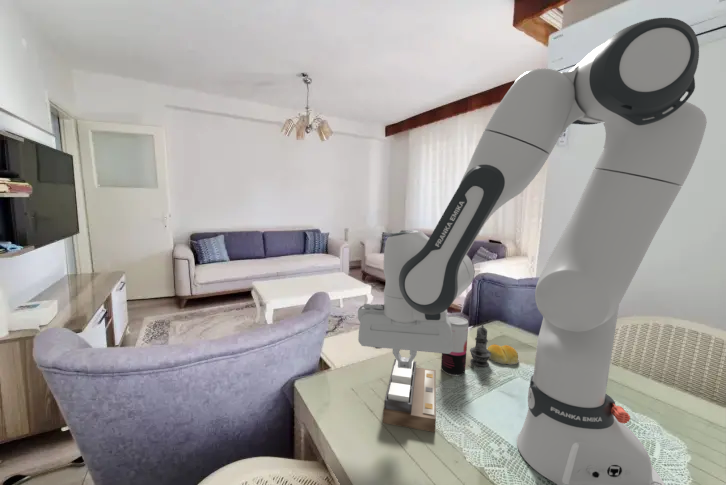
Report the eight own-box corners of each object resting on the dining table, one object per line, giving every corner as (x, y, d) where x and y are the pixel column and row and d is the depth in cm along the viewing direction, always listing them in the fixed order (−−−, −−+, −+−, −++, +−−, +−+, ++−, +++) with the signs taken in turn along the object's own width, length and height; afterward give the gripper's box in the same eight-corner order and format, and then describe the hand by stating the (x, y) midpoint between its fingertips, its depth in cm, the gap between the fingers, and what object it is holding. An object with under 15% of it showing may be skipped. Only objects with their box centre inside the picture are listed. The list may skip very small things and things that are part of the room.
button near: (409, 395, 71) (410, 385, 71) (408, 407, 67) (408, 397, 66) (390, 392, 72) (391, 382, 72) (387, 404, 68) (388, 393, 67)
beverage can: (470, 373, 87) (473, 322, 84) (451, 378, 84) (454, 326, 82) (454, 362, 93) (457, 314, 90) (436, 366, 90) (439, 317, 88)
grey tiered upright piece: (486, 358, 95) (490, 321, 93) (492, 369, 89) (496, 329, 87) (467, 357, 95) (469, 320, 94) (471, 367, 90) (474, 328, 88)
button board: (434, 380, 83) (435, 363, 82) (435, 432, 65) (436, 410, 64) (393, 374, 85) (394, 357, 85) (382, 422, 67) (383, 401, 66)
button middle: (411, 377, 77) (412, 367, 76) (410, 387, 72) (410, 377, 72) (394, 374, 78) (394, 365, 77) (391, 384, 73) (392, 374, 73)
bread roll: (484, 350, 100) (485, 339, 100) (513, 354, 99) (515, 342, 98) (488, 363, 92) (489, 351, 92) (521, 367, 91) (522, 355, 90)
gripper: (353, 307, 66) (355, 369, 67) (454, 313, 61) (453, 380, 63) (361, 299, 72) (362, 355, 73) (452, 303, 67) (451, 364, 69)
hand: (404, 367), depth 68 cm, fingers closed
